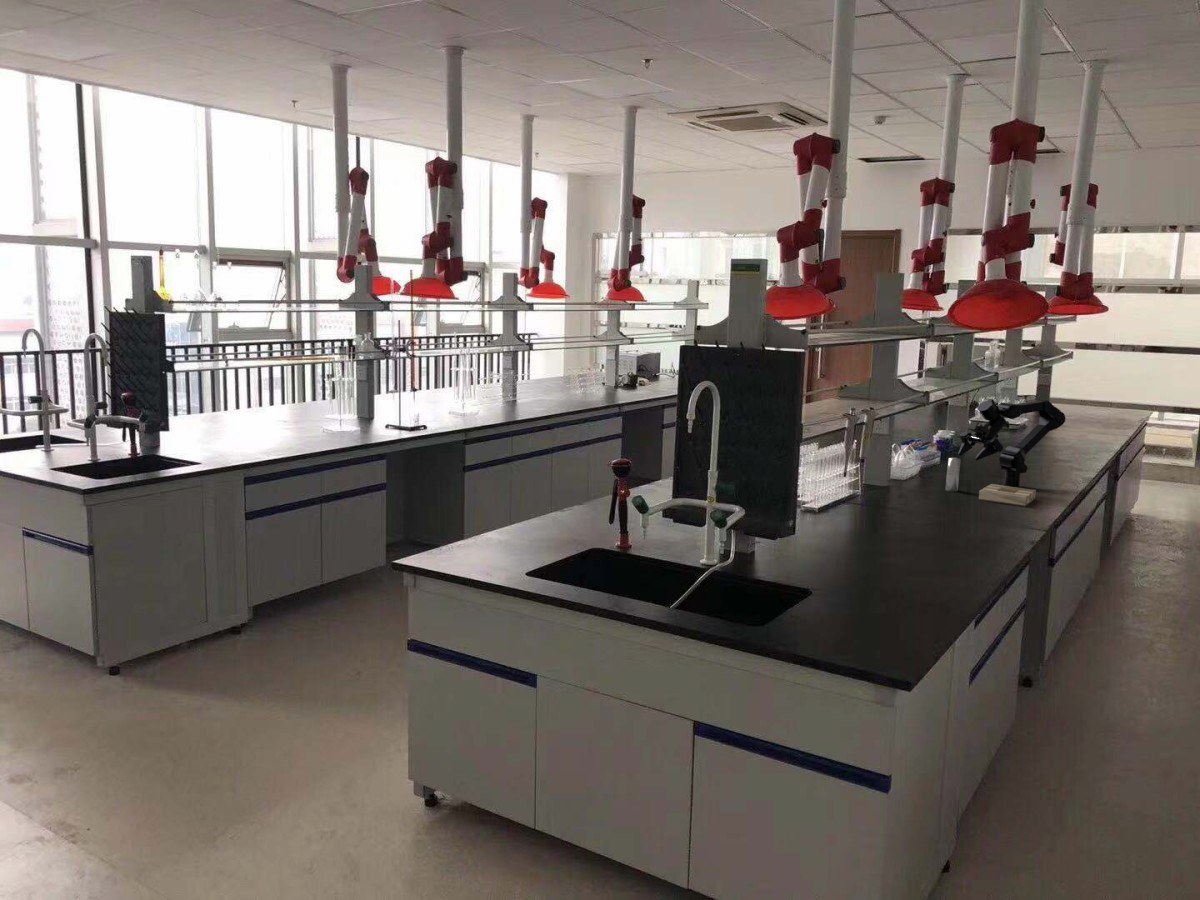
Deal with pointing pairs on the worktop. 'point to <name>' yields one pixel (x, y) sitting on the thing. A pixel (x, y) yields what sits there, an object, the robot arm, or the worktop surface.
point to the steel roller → (952, 474)
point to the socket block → (1007, 495)
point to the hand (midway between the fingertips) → (967, 457)
